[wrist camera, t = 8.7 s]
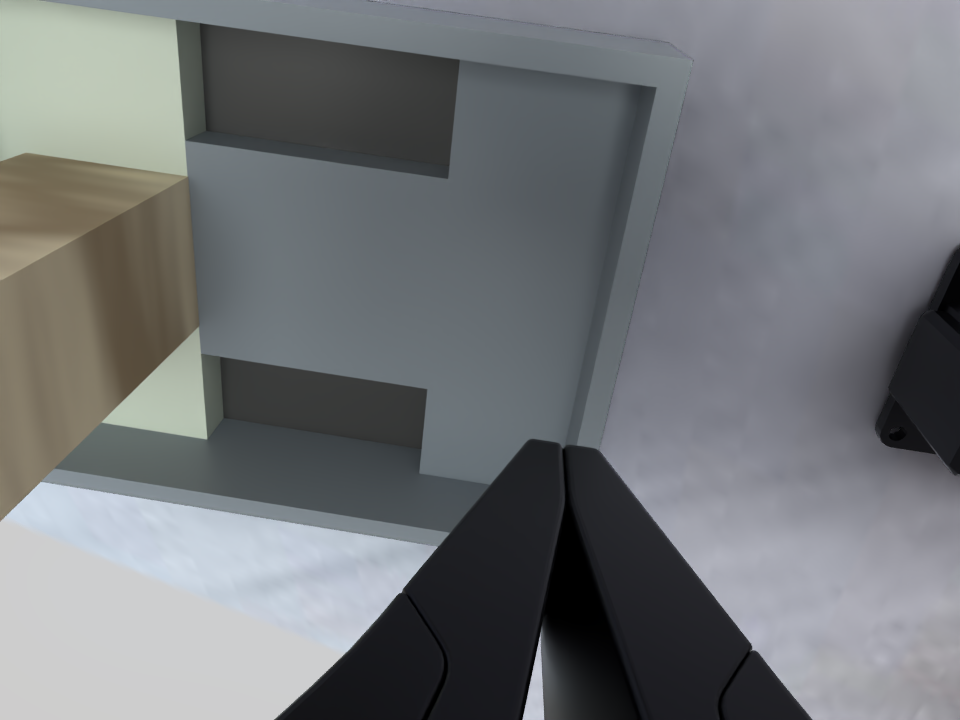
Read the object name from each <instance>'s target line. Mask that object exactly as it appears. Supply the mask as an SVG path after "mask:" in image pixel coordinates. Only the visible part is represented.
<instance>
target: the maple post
mask: <svg viewBox="0 0 960 720" xmlns="http://www.w3.org/2000/svg"><path fill="white" fill-rule="evenodd" d="M198 327H199V313H198V300H197V287H196V273H195V260H194V247H193V233H192V220H191V207H190V193H189V180H188V176H181V175H174V174H168V173H161V172H154V171H147V170H141V169H134V168H127V167H120V166H113V165H107V164H100V163H93V162H86V161H80V160H73V159H66V158H59V157H53V156H46V155H39V154H32V153H23V154H21V155H18V156H15V157H12V158H9V159H6V160H3V161H0V521H1V520H2V519H3V518H4V517H5V516H6V515H7V514H8V513H9V512H10V511H11V510H12V509H13V508H14V507H15V506H16V505H17V504H19V503H20V502H21V501H22V500H23V499H24V498H25V497H26V496H27V495H28V494H29V493H30V492H31V491H32V490H33V489H34V488H35V487H36V486H37V485H38V484H39V483H40V482H41V481H42V480H43V479H44V478H45V477H46V476H47V475H48V474H49V473H50V472H51V471H52V470H53V469H54V468H55V467H56V466H57V465H58V464H59V463H60V462H61V461H62V460H63V459H64V458H65V457H66V456H67V455H68V454H69V453H70V452H72V451H73V450H74V449H75V448H76V447H77V446H78V445H79V444H80V443H81V442H82V441H83V440H84V439H85V438H86V437H87V436H88V435H89V434H90V433H91V432H92V431H93V430H94V429H95V428H96V427H97V426H98V425H99V424H100V423H101V422H102V421H103V420H104V419H105V418H106V417H107V416H108V415H109V414H110V413H111V412H112V411H113V410H114V409H115V408H116V407H117V406H118V405H119V404H120V403H121V402H122V401H123V400H124V399H126V398H127V397H128V396H129V395H130V394H131V393H132V392H133V391H134V390H135V389H136V388H137V387H138V386H139V385H140V384H141V383H142V382H143V381H144V380H145V379H146V378H147V377H148V376H149V375H150V374H151V373H152V372H153V371H154V370H155V369H156V368H157V367H158V366H159V365H160V364H161V363H162V362H163V361H164V360H165V359H166V358H167V357H168V356H169V355H170V354H171V353H172V352H173V351H174V350H175V349H176V348H177V347H179V346H180V345H181V344H182V343H183V342H184V341H185V340H186V339H187V338H188V337H189V336H190V335H191V334H192V333H193V332H194V331H195V330H196V329H197V328H198Z"/></svg>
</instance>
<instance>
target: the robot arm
mask: <svg viewBox="0 0 960 720" xmlns="http://www.w3.org/2000/svg"><path fill="white" fill-rule="evenodd" d="M889 391H890V395H889V397H888V399H887V401H886V403H885V406H884V408H883V410H882V412H881V414H880V417H879V419H878V421H877V423H876V427H875V431H876V434H877V436H878V437H879V439H880V440H881V442H883V443H884V444H885V445H886V446H889V447H893V448H900V449H906V450H913V451H919V452H925V453H932V454H937V455H938V456H939V458H940V459H941V460H942V462H943V463H944V464H945V466H946V467H947V468H948V470H949V471H950V472H951V473H952V474H954V475H957V476H960V248H959V249H958V250H957V251H956V253H955V254H954V256H953V257H952V260H951V262H950V264H949V266H948V268H947V270H946V273H945V275H944V277H943V279H942V281H941V284H940V286H939V288H938V290H937V292H936V294H935V297H934V299H933V301H932V303H931V305H930V308H929V310H928V311H927V312H926V313H924V314H923V315H922V316H921V317H920V319H919V321H918V323H917V325H916V328H915V330H914V332H913V334H912V336H911V339H910V341H909V343H908V345H907V347H906V350H905V352H904V354H903V356H902V358H901V361H900V363H899V365H898V367H897V369H896V372H895V374H894V376H893V378H892V380H891V383H890V385H889ZM895 427H901V428H900V430H899V431H897V432H895V433H889V432H890V431H891V429H893V428H895ZM540 632H541V657H542V678H543V699H544V720H812V719H811V717H810V716H809V715H808V714H807V713H806V711H805V710H804V709H803V708H802V707H801V705H800V704H799V703H798V702H797V700H796V699H795V698H794V697H793V696H792V694H791V693H790V692H789V691H788V690H787V688H786V687H785V686H784V685H783V683H782V682H781V681H780V680H779V679H778V677H777V676H776V675H775V673H774V672H773V671H772V670H771V668H770V667H769V666H768V665H767V663H766V662H765V661H764V659H763V658H762V657H761V656H760V654H759V653H758V652H757V651H754V650H753V651H751V650H752V645H751V643H750V642H749V641H748V640H747V638H746V637H745V636H744V634H743V633H742V632H741V631H740V629H739V628H738V627H737V625H736V624H735V623H734V622H733V620H732V619H731V618H730V617H729V615H728V614H727V613H726V611H725V610H724V609H723V608H722V606H721V605H720V604H719V603H718V601H717V600H716V599H715V597H714V596H713V595H712V594H711V592H710V591H709V590H708V589H707V587H706V586H705V585H704V583H703V582H702V581H701V580H700V578H699V577H698V576H697V574H696V573H695V572H694V571H693V569H692V568H691V567H690V566H689V564H688V563H687V562H686V560H685V559H684V558H683V557H682V555H681V554H680V553H679V552H678V550H677V549H676V548H675V546H674V545H673V544H672V543H671V541H670V540H669V539H668V538H667V536H666V535H665V534H664V532H663V531H662V530H661V529H660V527H659V526H658V525H657V523H656V522H655V521H654V520H653V518H652V517H651V516H650V515H649V513H648V512H647V511H646V509H645V508H644V507H643V506H642V504H641V503H640V502H639V501H638V499H637V498H636V497H635V495H634V494H633V493H632V492H631V490H630V489H629V488H628V487H627V485H626V484H625V483H624V481H623V480H622V479H621V478H620V476H619V475H618V474H617V472H616V471H615V470H614V469H613V467H612V466H611V465H610V464H609V462H608V461H607V460H606V458H605V457H604V456H603V455H602V453H601V452H600V451H599V450H597V449H595V448H590V447H584V446H577V445H571V444H568V445H565V446H564V447H562V445H561V444H560V443H557V442H551V441H545V440H539V439H529V440H528V441H527V442H526V443H525V444H524V445H523V446H522V447H521V449H520V450H519V451H518V452H517V453H516V454H515V456H514V457H513V458H512V459H511V460H510V462H509V463H508V464H507V465H506V466H505V468H504V469H503V470H502V471H501V472H500V474H499V475H498V476H497V477H496V478H495V480H494V481H493V482H492V483H491V484H490V486H489V487H488V488H487V489H486V490H485V492H484V493H483V494H482V495H481V496H480V498H479V499H478V500H477V501H476V502H475V504H474V505H473V506H472V507H471V508H470V509H469V511H468V512H467V513H466V514H465V515H464V517H463V518H462V519H461V520H460V521H459V523H458V524H457V525H456V526H455V527H454V529H453V530H452V531H451V532H450V533H449V535H448V536H447V537H446V538H445V539H444V541H443V542H442V543H441V544H440V545H439V547H438V548H437V549H436V550H435V551H434V553H433V554H432V555H431V556H430V557H429V559H428V560H427V561H426V562H425V563H424V564H423V566H422V567H421V568H420V569H419V570H418V572H417V573H416V574H415V575H414V576H413V578H412V579H411V580H410V581H409V582H408V584H407V585H406V586H405V587H404V588H403V591H402V593H400V594H398V595H397V596H396V597H395V599H394V600H393V601H392V602H391V603H390V605H389V606H388V607H387V608H386V609H385V611H384V612H383V613H382V614H381V615H380V617H379V618H378V619H377V620H376V621H375V622H374V623H373V624H372V625H371V626H370V628H369V629H368V630H367V631H366V632H365V633H364V634H363V635H362V636H361V638H360V639H359V640H358V641H357V642H356V643H355V644H354V645H353V646H352V647H351V649H350V650H349V651H348V652H346V653H345V654H344V655H343V656H342V657H341V658H340V659H339V660H338V661H337V662H336V663H335V664H334V665H333V666H332V667H331V668H330V669H329V670H328V671H327V672H326V673H325V674H324V675H322V676H321V677H320V678H319V679H318V680H317V681H316V682H315V683H314V684H313V685H312V686H311V687H310V688H309V689H308V690H307V691H305V692H304V693H303V694H302V695H301V696H300V697H299V698H298V699H297V700H295V701H294V702H293V703H292V704H291V705H290V706H289V707H288V708H287V709H286V710H285V711H283V712H282V713H281V714H280V715H279V716H278V717H277V718H276V719H274V720H522V719H523V714H524V709H525V705H526V700H527V695H528V690H529V685H530V681H531V676H532V671H533V666H534V661H535V656H536V652H537V647H538V642H539V637H540Z"/></svg>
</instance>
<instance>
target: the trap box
mask: <svg viewBox="0 0 960 720" xmlns="http://www.w3.org/2000/svg"><path fill="white" fill-rule="evenodd" d="M692 64H693V60H692V59H691V58H690V57H688V56H687V55H685V54H684V53H683V52H681V51H680V50H678V49H677V48H676V47H674V46H673V45H672V44H670V43H669V42H662V41H654V40H647V39H640V38H633V37H626V36H618V35H611V34H604V33H597V32H590V31H582V30H575V29H568V28H561V27H554V26H546V25H539V24H532V23H525V22H517V21H510V20H503V19H496V18H489V17H481V16H474V15H467V14H460V13H453V12H445V11H438V10H431V9H424V8H417V7H409V6H402V5H395V4H388V3H381V2H373V1H366V0H0V161H3V160H6V159H9V158H12V157H15V156H18V155H21V154H23V153H32V154H39V155H46V156H53V157H59V158H66V159H73V160H80V161H86V162H93V163H100V164H107V165H113V166H120V167H127V168H134V169H141V170H147V171H154V172H161V173H168V174H174V175H181V176H188V180H189V193H190V207H191V220H192V233H193V247H194V260H195V273H196V287H197V300H198V313H199V327H198V328H197V329H196V330H195V331H194V332H193V333H192V334H191V335H190V336H189V337H188V338H187V339H186V340H185V341H184V342H183V343H182V344H181V345H180V346H179V347H177V348H176V349H175V350H174V351H173V352H172V353H171V354H170V355H169V356H168V357H167V358H166V359H165V360H164V361H163V362H162V363H161V364H160V365H159V366H158V367H157V368H156V369H155V370H154V371H153V372H152V373H151V374H150V375H149V376H148V377H147V378H146V379H145V380H144V381H143V382H142V383H141V384H140V385H139V386H138V387H137V388H136V389H135V390H134V391H133V392H132V393H131V394H130V395H129V396H128V397H127V398H126V399H124V400H123V401H122V402H121V403H120V404H119V405H118V406H117V407H116V408H115V409H114V410H113V411H112V412H111V413H110V414H109V415H108V416H107V417H106V418H105V419H104V420H103V421H102V422H101V423H100V424H99V425H98V426H97V427H96V428H95V429H94V430H93V431H92V432H91V433H90V434H89V435H88V436H87V437H86V438H85V439H84V440H83V441H82V442H81V443H80V444H79V445H78V446H77V447H76V448H75V449H74V450H73V451H72V452H70V453H69V454H68V455H67V456H66V457H65V458H64V459H63V460H62V461H61V462H60V463H59V464H58V465H57V466H56V467H55V468H54V469H53V470H52V471H51V472H50V473H49V474H48V475H47V476H46V477H45V478H44V479H43V480H42V481H41V482H46V483H52V484H58V485H64V486H70V487H76V488H83V489H89V490H95V491H101V492H107V493H113V494H119V495H125V496H132V497H138V498H144V499H150V500H156V501H162V502H168V503H175V504H181V505H187V506H193V507H199V508H205V509H211V510H217V511H224V512H230V513H236V514H242V515H248V516H254V517H260V518H266V519H273V520H279V521H285V522H291V523H297V524H303V525H309V526H315V527H322V528H328V529H334V530H340V531H346V532H352V533H358V534H365V535H371V536H377V537H383V538H389V539H395V540H401V541H407V542H414V543H420V544H426V545H432V546H438V547H439V545H440V544H441V543H442V542H443V541H444V539H445V538H446V537H447V536H448V535H449V533H450V532H451V531H452V530H453V529H454V527H455V526H456V525H457V524H458V523H459V521H460V520H461V519H462V518H463V517H464V515H465V514H466V513H467V512H468V511H469V509H470V508H471V507H472V506H473V505H474V504H475V502H476V501H477V500H478V499H479V498H480V496H481V495H482V494H483V493H484V492H485V490H486V489H487V488H488V487H489V486H490V484H491V483H492V482H493V481H494V480H495V478H496V477H497V476H498V475H499V474H500V472H501V471H502V470H503V469H504V468H505V466H506V465H507V464H508V463H509V462H510V460H511V459H512V458H513V457H514V456H515V454H516V453H517V452H518V451H519V450H520V449H521V447H522V446H523V445H524V444H525V443H526V442H527V441H528V440H529V439H539V440H545V441H551V442H557V443H560V444H561V445H562V447H564V446H565V445H568V444H571V445H577V446H584V447H590V448H595V449H597V450H599V448H600V444H601V439H602V435H603V431H604V427H605V423H606V419H607V415H608V411H609V407H610V402H611V398H612V394H613V390H614V386H615V382H616V378H617V374H618V369H619V365H620V361H621V357H622V353H623V349H624V345H625V341H626V336H627V332H628V328H629V324H630V320H631V316H632V312H633V308H634V303H635V299H636V295H637V291H638V287H639V283H640V279H641V275H642V271H643V266H644V262H645V258H646V254H647V250H648V246H649V242H650V238H651V233H652V229H653V225H654V221H655V217H656V213H657V209H658V205H659V200H660V196H661V192H662V188H663V184H664V180H665V176H666V172H667V168H668V163H669V159H670V155H671V151H672V147H673V143H674V139H675V135H676V130H677V126H678V122H679V118H680V114H681V110H682V106H683V102H684V97H685V93H686V89H687V85H688V81H689V77H690V73H691V69H692Z"/></svg>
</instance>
